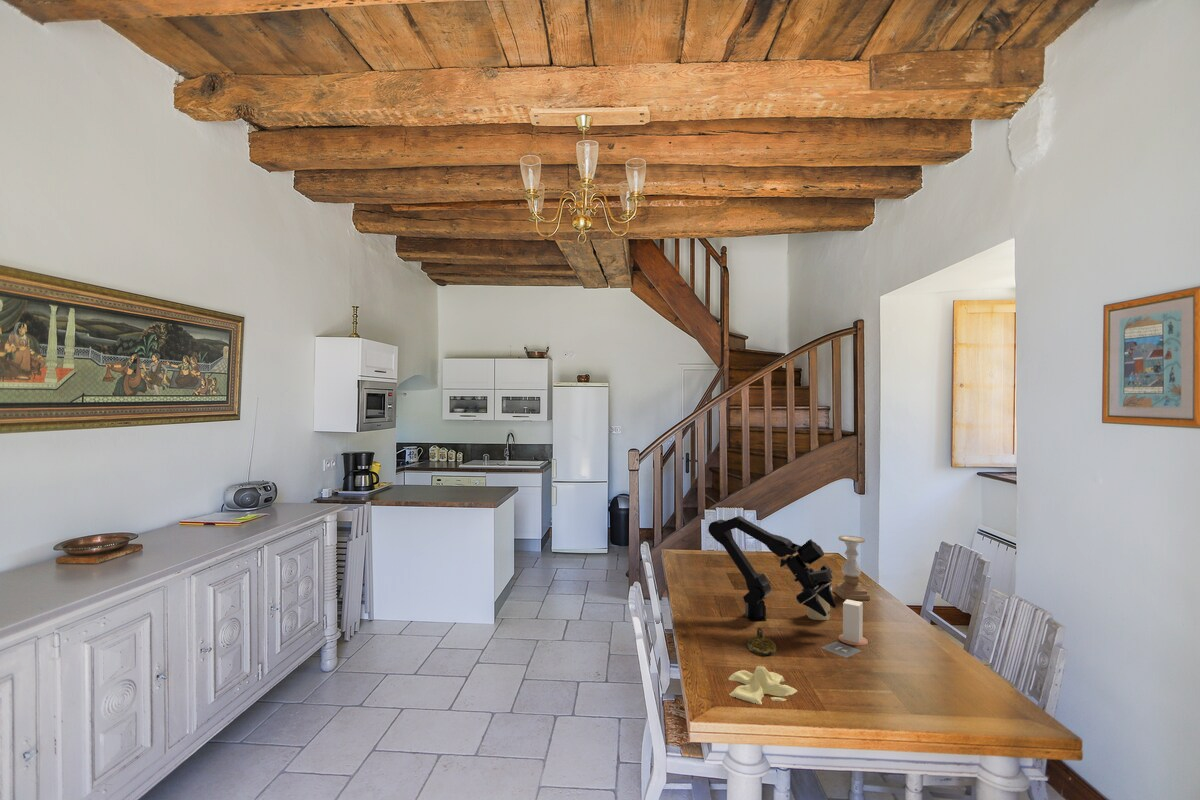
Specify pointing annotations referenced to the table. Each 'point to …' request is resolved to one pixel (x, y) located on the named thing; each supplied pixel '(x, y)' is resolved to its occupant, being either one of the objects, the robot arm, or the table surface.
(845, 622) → the ivory block
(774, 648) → the seal
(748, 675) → the cloth
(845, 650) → the gray tile
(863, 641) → the peach dome
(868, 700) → the table surface
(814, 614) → the coffee cup
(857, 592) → the candle holder
